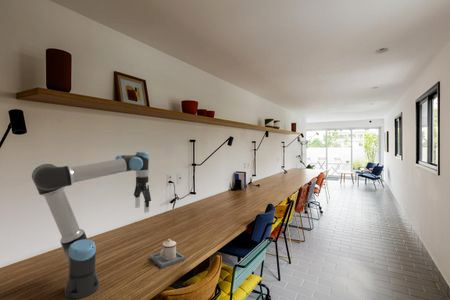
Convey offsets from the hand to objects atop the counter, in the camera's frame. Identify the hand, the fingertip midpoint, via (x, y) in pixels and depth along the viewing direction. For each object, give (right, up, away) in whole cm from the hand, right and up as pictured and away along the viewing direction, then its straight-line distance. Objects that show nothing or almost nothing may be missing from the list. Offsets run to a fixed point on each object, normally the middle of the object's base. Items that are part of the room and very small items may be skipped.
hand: (141, 209), depth 157 cm
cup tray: (+16, -32, +2) cm, 36 cm away
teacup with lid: (+16, -32, +1) cm, 35 cm away
